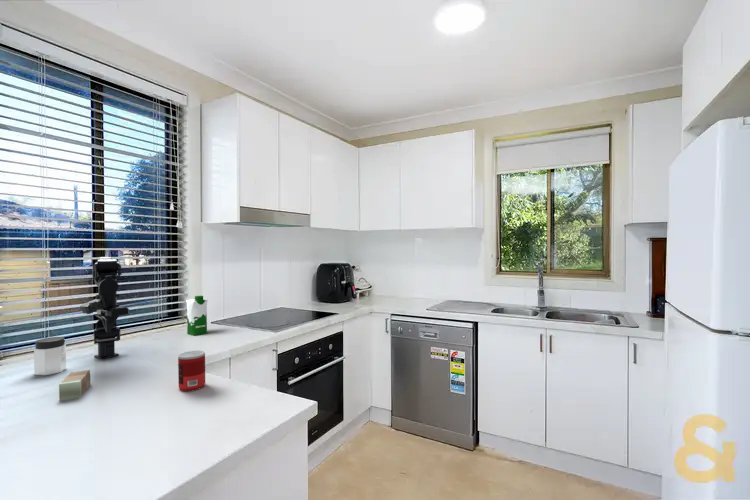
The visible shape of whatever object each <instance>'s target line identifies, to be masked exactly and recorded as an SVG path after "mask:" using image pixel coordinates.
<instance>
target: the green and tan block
mask: <svg viewBox="0 0 750 500" xmlns="http://www.w3.org/2000/svg"><path fill="white" fill-rule="evenodd" d="M90 385H91V369H84V370H77V371H71V372H70V373H69V374H67V375H66V377H65V378H64V379H63V380H62V381H61V382H60V383H58V393H59V394H58V396H59V397H58V400H59V402H61V401H66V400H74V399H80V398H81V397H82V396H83V394H84V393H85V392H86V390H87V389H88V388H89V387H90Z"/></svg>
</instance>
